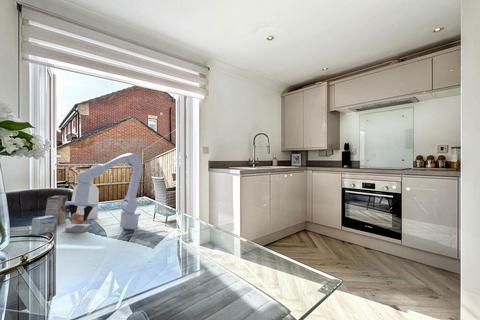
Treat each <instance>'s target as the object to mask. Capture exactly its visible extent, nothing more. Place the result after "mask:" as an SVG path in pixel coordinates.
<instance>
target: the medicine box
mask: <svg viewBox="0 0 480 320" xmlns="http://www.w3.org/2000/svg"><path fill="white" fill-rule="evenodd" d="M55 227H56V226H55V216H52V215H48V216H45V215H44V216H38V217H33V218H32V220H31V227H30V228H31V229H30V235H35V236H39V235H43V234H47V233H51V232H54V231H55Z"/></svg>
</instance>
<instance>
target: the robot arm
mask: <svg viewBox="0 0 480 320" xmlns="http://www.w3.org/2000/svg"><path fill="white" fill-rule="evenodd" d="M119 164H127V165H129V166H130V168H131V169H132V172H131V175H130V177H131V178H130V181H129V186H128V188H127V193H126V195H125V196H124V199H123V200H122V202H121V204H120V207H121V209H122V210H121V213H120V222H119V226H120V227H121V228H122V229H123V230H136V228H137V227H138V226H139V218H140V217H139V216H140V214H139V213H138V212H136V211H137V201H138V200H137V194H138V190H139V185H140V181H141V178H142V174H143V169H144V166H143V164H142V159H141V157H140V156H139V155H138V154H137V153H132V152H126V153H125V154H121V155H119V156H117V157H115V158H113V159H112V160H110V161H109V160H108V162H105V163H104V164H102V163H95V164H94V165H93V166H92V167H89V168H85V170H82V171H80V172H78V174H77V175H76V179H77V182H76V185H77V188H76V197H75V201H72V200H71V201H69V200H68V201H66V202H65V206H67V210H68V211H69V212H70V213H71V217H72V214H74V213H76V212H77V208H78V206H85V208H84V221H86V220H87V221H88V219H87V218H88V215H89V213H90V212H91V210H92V209H93V207H97V203H91V202H88V197H89V189H90V181H91V180H92V179H96V178H98V177H99V176H102V175H104V174H105V173H106V172H107V170H108V169H110V168H113V167H116V166H117V165H119Z"/></svg>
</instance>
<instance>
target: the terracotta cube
mask: <svg viewBox="0 0 480 320" xmlns="http://www.w3.org/2000/svg"><path fill="white" fill-rule="evenodd" d="M87 221H88V219H87V220H86V221H84V212H76V213H74V214H72V218H71V222H70V225H72V224H87V223H88V222H87Z"/></svg>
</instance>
